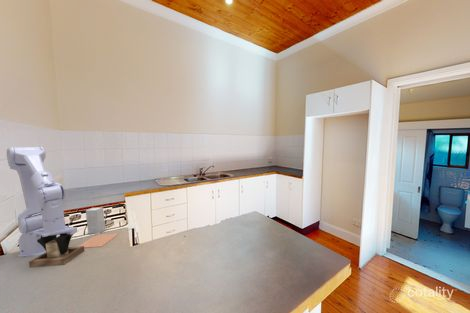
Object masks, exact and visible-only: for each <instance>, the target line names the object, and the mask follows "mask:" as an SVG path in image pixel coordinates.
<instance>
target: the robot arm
mask: <svg viewBox="0 0 470 313" xmlns="http://www.w3.org/2000/svg"><path fill="white" fill-rule="evenodd" d="M46 155H47V154H46V150H45V148H44V147H43V146H15V147H14V146H9V147H8V148H7V149H6V159H7V163H8V167H9V169H10V170H14V171H16V173H17V174H18V176H19V181H20V186H21V189H22V194H23V195H22V196H23V199H24V203H25V209H24V210H23V211H22V212H21V213H19V215H18V217H17V226H18V231H19V232H20V236H19V237H18V247H19V255H17V257H31V256H40V255H42V254H44V253H46V252H47V251H46V243H48V242H50V241H52V240H55V241H56V242H57V244H58V247H59V251H60V254H61V255H63V254H65V253H66V252H67V251H68V247H70V246H69V245H70V242H71V240H72V237H73V236H74V235H75V234H77V233H78V227H77V226H76V227H75V226H66V219H65V210H64V202H63V200H64V198H65V196H66V193H65V189H64V186H63V185H62V184H61V183H59V182H57V181H56V179H55V177H54V176H53V174H52V172H50V171H47V170H46V168H45V165H44V161H45V159H46V157H47V156H46Z"/></svg>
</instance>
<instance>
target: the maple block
mask: <svg viewBox="0 0 470 313" xmlns="http://www.w3.org/2000/svg"><path fill="white" fill-rule="evenodd" d="M46 251H47V259H48V258H61V257H65V256H67V255H68V254H69V252H68V251H67V252H66V253H65V254H63V255H61V254H60V251H59V247H58V244H57V242H56V241H55V240H52V241H50V242H48V243H46Z"/></svg>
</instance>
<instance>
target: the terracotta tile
mask: <svg viewBox="0 0 470 313" xmlns="http://www.w3.org/2000/svg"><path fill="white" fill-rule="evenodd" d="M119 234H120V233H109V234H94V236H92V237H90V238H89V239H88V240H86V241H84V242H82V243H81V244H79V245H78V246H77V247H79V246H84V249H93V248H102V247H104V246H105V245H107V244H108V243H109V242H111V241H112V240H113V239H114V238H116V237H117V236H119Z"/></svg>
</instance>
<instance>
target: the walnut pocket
mask: <svg viewBox="0 0 470 313" xmlns="http://www.w3.org/2000/svg"><path fill="white" fill-rule="evenodd" d="M78 246H79V245H78ZM78 246H68V252H69V254H68V255H67V256H65V257H61V258H48V259H47V252H45V253H43V254H41V255H37V257H35V258H33V259H31V260H30V261H28V264H29V265H28V266H29V268H39V267H52V266H53V267H54V266H65V265H67V264H68V263H69V262H71V261H73V260H74V259H75V258H77V257H78V256H79V255H81V254H82V253H84V252H85V248H84V246H79V247H78Z"/></svg>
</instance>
